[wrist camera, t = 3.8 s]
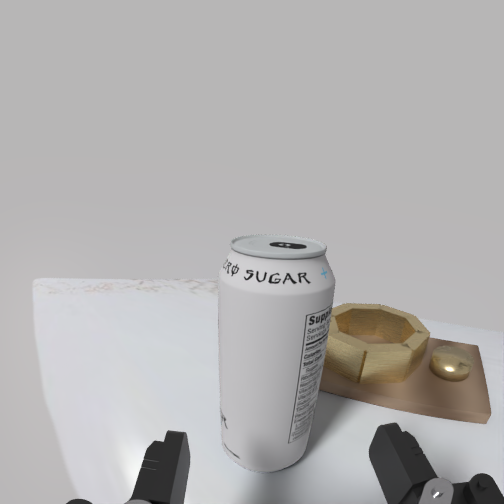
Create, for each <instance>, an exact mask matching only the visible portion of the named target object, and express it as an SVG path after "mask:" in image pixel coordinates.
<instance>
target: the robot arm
mask: <svg viewBox="0 0 504 504" xmlns="http://www.w3.org/2000/svg"><path fill="white" fill-rule="evenodd" d="M369 457H370V461H371V463H372V465H373V468H374V470H375V473H376V475H377V478H378V480H379V483H380V485H381V488H382V490H383V493H384V495H385V498H386V501H387V503H388V504H504V497H503V495H502V493H501V491H500V490H499V488H498V486H497V485H496V483H495V481H494V480H493V478H492V477H491V476H490V475H488V474H484V473H480V474H477V475H475V476H473V477H472V479H471V480H470V481H469V482H464V483H455V484H451V483H450V482H449V481H448V480H446V479H443V478H438V477H437V475H436V474H435V472H434V470H433V468H432V466H431V465H430V463H429V461H428V460H427V458H426V456H425V454H423V451H422V449H421V447H419V444H418V442H417V441H416V439H415V437H413V436H412V435H411V434H410V433H408V432H407V431H405V432H402V431H401V429H400V427H399V425H398V424H397V423H390V424H385V425H380V426H379V427H378V428H377V431H376V433H375V436H374V438H373V440H372V443H371V445H370V448H369ZM189 468H190V451H189V445H188V439H187V434H186V432H177V431H169V430H168V431H167V433H166V436H165V440H164V442H161V441H154V442H153V443H152V444H151V445H150V446H149V447H148V448H147V450H146V453H145V456H144V460H143V462H142V466H141V469H140V472H139V475H138V478H137V481H136V485H135V488H134V491H133V494H132V497H131V498H130V500H129V501H128V502H126V503H125V504H184V498H185V492H186V485H187V479H188V473H189ZM66 504H92V503H91V502H89V501H87V500H84V499H74V500H71V501H69V502H68V503H66Z"/></svg>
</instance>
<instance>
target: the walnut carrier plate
mask: <svg viewBox="0 0 504 504" xmlns="http://www.w3.org/2000/svg"><path fill="white" fill-rule="evenodd" d="M349 336H352V337H354V338H356V339H359V340H361V341H363V342H366V343H368V344H395V343H393V342H390V341H388V340H385V339H383V338H380V337H378V336H375V335H349ZM440 346H454V347H458V348H461V349H463V350H465V351H467V352H468V353H470V354H471V355H472V357H473V359H474V364H473V367H472V369H471V372H470V374H469V376H468V378H467V379H465V380H463V381H460V382H450V381H446V380H443V379H440V378H438V377H437V376H435V375H434V374H433V373H432V372H431V371H430V369H429V363H430V360H431V357H432V354H433V351H434V349H436V348H437V347H440ZM319 390H322V391H325V392H329V393H332V394H336V395H340V396H343V397H347V398H351V399H354V400H358V401H362V402H366V403H370V404H374V405H379V406H383V407H387V408H392V409H396V410H401V411H406V412H411V413H416V414H421V415H427V416H433V417H438V418H445V419H451V420H458V421H466V422H474V423H482V424H486V423H487V421H488V419H489V417H490V416H491V408H490V401H489V395H488V390H487V384H486V379H485V374H484V369H483V365H482V360H481V356H480V352H479V348H478V346H477V345H470V344H464V343H458V342H452V341H446V340H441V339H435V338H430V337H429V340H428V344H427V347H426V350H425V354H424V357H423V360H422V363H421V364H420V366H419V367H418V368H417V369H416V370H415V371H414V372H413V373H412V374H411V375H410V376H409V377H408V379H407V380H406V381H405V382H404V381H403V382H401V383H380V384H359V382H357V383H355V382H353V381H351V380H349V379H347V378H345V377H343V376H341V375H339V374H337V373H335V372H333V371H331V370H330V369H328V368H326V367H324V366H323V370H322V375H321V381H320V386H319Z"/></svg>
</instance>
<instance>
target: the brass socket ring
mask: <svg viewBox="0 0 504 504" xmlns="http://www.w3.org/2000/svg"><path fill="white" fill-rule="evenodd" d="M349 335H375V336H378V337H380V338H383V339H385V340H388V341H390V342H393V343H395V344H368V343H366V342H363V341H361V340H359V339H356V338H354V337H352V336H349ZM429 337H430V332H429V331H428V330H427V329H426V328H425V327H424V325H423V324H422V323H421V322H420V321H419V320H418V318H417V317H416V316H414V315H411V314H409V313H406V312H403V311H400V310H397V309H394V308H390V307H388V306H385V305H382V306H381V305H380V304H351V303H346V304H342V305H340V306H337V307H335V308H332V312H331V320H330V327H329V333H328V340H327V346H326V352H325V358H324V364H323V366H324V367H326V368H328V369H330V370H331V371H333V372H335V373H337V374H339V375H341V376H343V377H345V378H347V379H349V380H351V381H353V382H355V383H357V382H359V384H380V383H401V382H403V381H404V382H405V381H406V380H407V379H408V377H409V376H410V375H411V374H412V373H413V372H414V371H415V370H416V369H417V368H418V367H419V366H420V364H421V363H422V360H423V357H424V354H425V350H426V347H427V344H428V340H429ZM473 364H474V359H473V357H472V355H471V354H470V353H468V352H467V351H465V350H463V349H461V348H458V347H454V346H440V347H437V348H436V349H434V351H433V354H432V357H431V360H430V363H429V369H430V371H431V372H432V373H433V374H434V375H435V376H437V377H438V378H440V379H443V380H446V381H450V382H460V381H463V380H465V379H467V378H468V376H469V374H470V372H471V369H472V367H473Z"/></svg>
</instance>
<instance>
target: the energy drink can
mask: <svg viewBox="0 0 504 504" xmlns="http://www.w3.org/2000/svg"><path fill="white" fill-rule="evenodd" d="M326 249H327V246H326V245H325V244H324V243H322V242H319V241H316V240H313V239H308V238H303V237H296V236H285V235H250V236H242V237H238V238H235V239H233V240H232V241H231V252H230V254H229V256H228V257H227V259H226V261H225V263H224V264H223V266H222V268H221V270H220V271H219V274H218V329H219V380H220V411H221V436H222V446H223V449H224V451H225V453H226V454H227V456H228V457H229V458H230V459H231V460H233V461H234V462H235V463H237V464H239V465H240V466H242V467H243V468H245V469H248V470H250V471H254V472H261V473H268V472H275V471H279V470H281V469H283V468H286V467H288V466H290V465H292V464H294V463H295V462H296V461H298V460H299V459H300V458H301V457H302V455H303V454H304V452H305V450H306V446H307V442H308V438H309V434H310V429H311V425H312V420H313V416H314V411H315V406H316V401H317V396H318V391H319V386H320V381H321V375H322V370H323V364H324V358H325V352H326V346H327V340H328V333H329V327H330V320H331V312H332V305H333V297H334V289H335V278H334V275H333V273H332V270H331V268H330V266H329V263H328V261H327V259H326V256H325V252H326Z"/></svg>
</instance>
